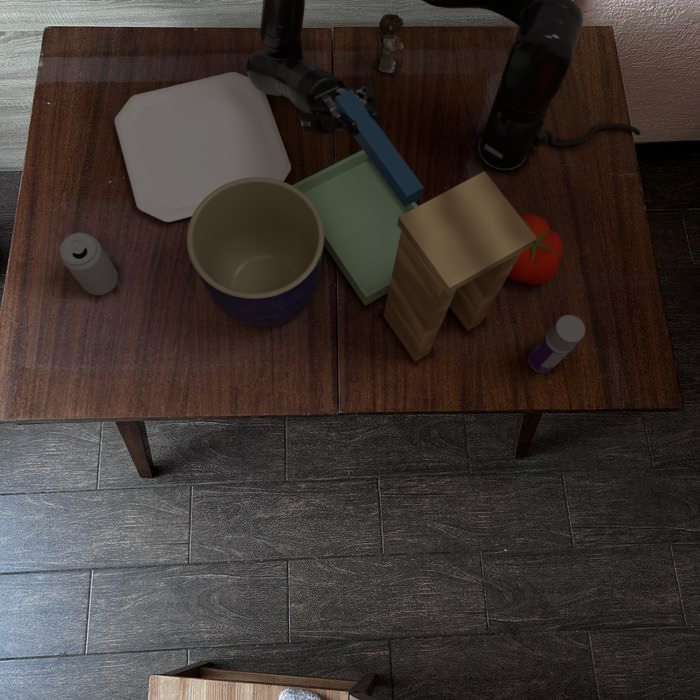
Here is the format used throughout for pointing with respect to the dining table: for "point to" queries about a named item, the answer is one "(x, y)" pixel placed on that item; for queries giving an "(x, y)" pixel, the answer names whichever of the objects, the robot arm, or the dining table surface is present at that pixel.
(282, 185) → the planter
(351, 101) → the bar
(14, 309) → the dining table surface
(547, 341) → the container
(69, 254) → the beverage can
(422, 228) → the shelf
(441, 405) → the dining table surface
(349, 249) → the tray
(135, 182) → the plate
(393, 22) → the toy
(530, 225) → the tomato
